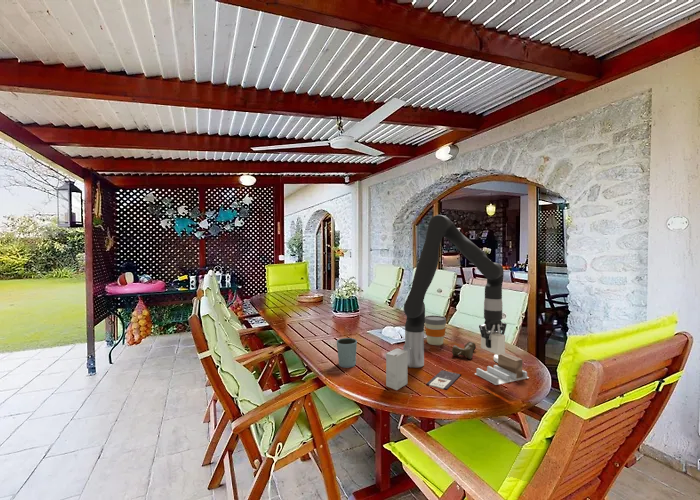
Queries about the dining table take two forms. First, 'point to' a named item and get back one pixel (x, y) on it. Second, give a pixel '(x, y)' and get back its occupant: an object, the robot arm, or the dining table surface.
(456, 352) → the kendama
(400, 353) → the skincare box
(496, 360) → the white round tin
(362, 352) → the dining table surface
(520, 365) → the brown rectangular block
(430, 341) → the reusable coffee cup
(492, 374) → the dish rack
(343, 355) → the grey cup
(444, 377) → the chocolate bar
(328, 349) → the dining table surface
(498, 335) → the cream rectangular block
